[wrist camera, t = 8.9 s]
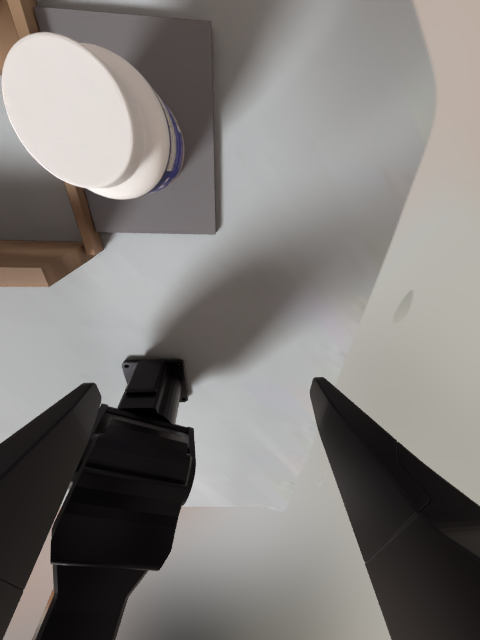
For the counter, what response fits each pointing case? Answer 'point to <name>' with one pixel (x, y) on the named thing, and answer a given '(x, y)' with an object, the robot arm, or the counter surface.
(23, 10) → the rack
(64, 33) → the mat
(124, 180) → the pill bottle
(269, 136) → the counter surface
